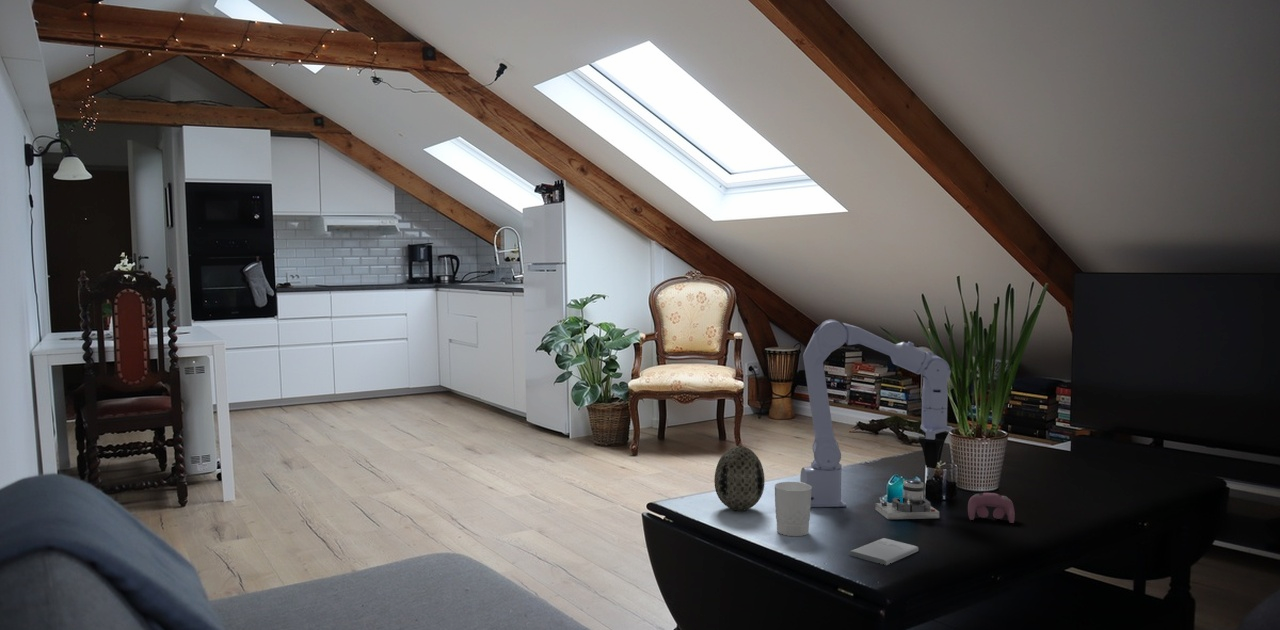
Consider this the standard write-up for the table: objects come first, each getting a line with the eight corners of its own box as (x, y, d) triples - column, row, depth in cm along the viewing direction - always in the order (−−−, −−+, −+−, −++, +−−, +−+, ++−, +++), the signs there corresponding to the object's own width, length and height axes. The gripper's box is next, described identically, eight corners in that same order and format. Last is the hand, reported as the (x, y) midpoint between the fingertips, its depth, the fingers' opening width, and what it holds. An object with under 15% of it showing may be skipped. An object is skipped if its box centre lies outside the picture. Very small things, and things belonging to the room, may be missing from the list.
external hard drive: (849, 558, 177) (882, 544, 185) (886, 568, 171) (918, 553, 180) (849, 550, 177) (882, 536, 185) (886, 560, 171) (918, 546, 180)
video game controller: (1013, 527, 201) (1013, 496, 204) (1015, 523, 197) (1015, 492, 200) (967, 523, 204) (967, 493, 207) (968, 519, 200) (968, 488, 203)
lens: (920, 510, 203) (921, 484, 203) (900, 507, 205) (901, 482, 205) (924, 506, 207) (925, 481, 207) (904, 503, 209) (905, 478, 209)
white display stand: (887, 519, 202) (888, 506, 201) (875, 509, 209) (875, 497, 209) (939, 518, 203) (939, 505, 202) (924, 508, 211) (925, 496, 210)
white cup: (802, 539, 186) (803, 492, 186) (768, 533, 191) (768, 487, 190) (816, 530, 193) (817, 484, 193) (782, 524, 197) (783, 480, 197)
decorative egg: (703, 509, 209) (704, 446, 208) (734, 500, 217) (734, 439, 216) (744, 519, 201) (745, 454, 200) (774, 509, 209) (774, 446, 208)
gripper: (949, 413, 202) (947, 472, 202) (955, 404, 215) (954, 459, 216) (916, 411, 205) (915, 469, 205) (924, 402, 218) (923, 457, 218)
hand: (933, 464), depth 211 cm, fingers open, 7 cm apart
